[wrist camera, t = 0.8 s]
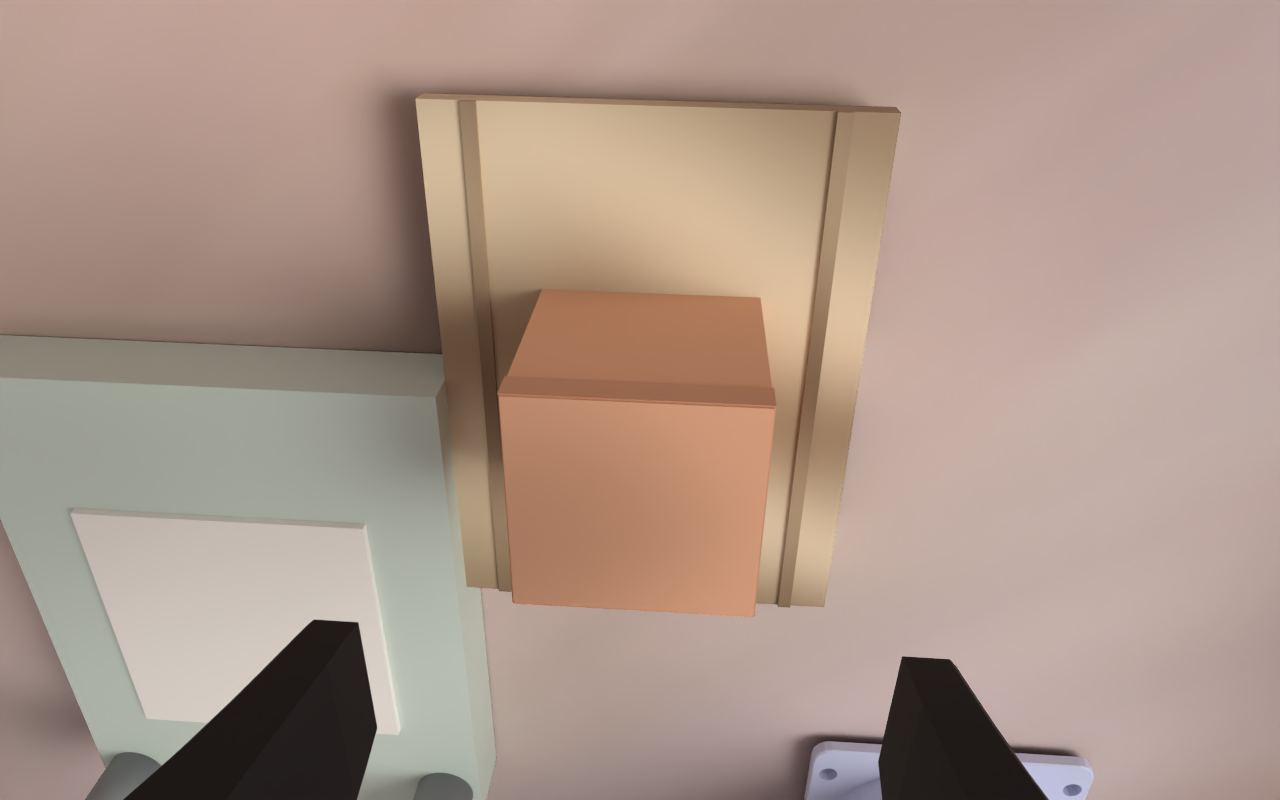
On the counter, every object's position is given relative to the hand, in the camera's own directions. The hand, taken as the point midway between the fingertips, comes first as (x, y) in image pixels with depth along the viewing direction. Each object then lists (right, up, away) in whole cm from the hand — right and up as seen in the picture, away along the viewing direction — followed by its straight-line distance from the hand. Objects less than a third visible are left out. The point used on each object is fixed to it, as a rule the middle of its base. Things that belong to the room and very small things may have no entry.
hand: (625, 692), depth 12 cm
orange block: (0, +4, +8) cm, 9 cm away
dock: (-10, -1, +13) cm, 16 cm away
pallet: (0, +5, +9) cm, 10 cm away
